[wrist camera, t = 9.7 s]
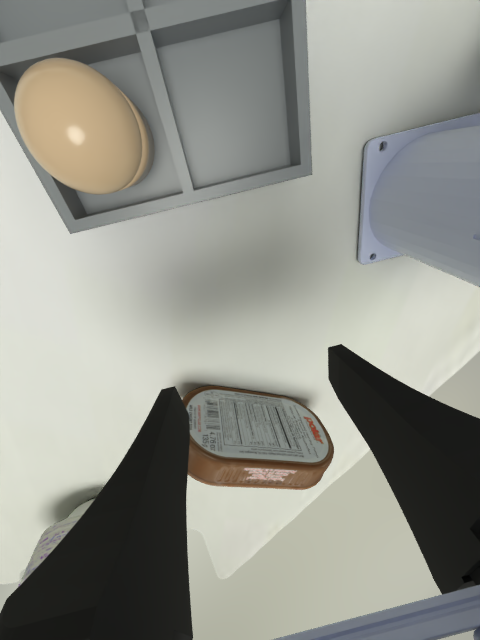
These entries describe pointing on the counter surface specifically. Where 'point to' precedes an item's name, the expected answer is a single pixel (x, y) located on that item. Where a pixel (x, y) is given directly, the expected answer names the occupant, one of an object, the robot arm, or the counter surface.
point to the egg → (82, 127)
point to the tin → (254, 440)
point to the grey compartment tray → (176, 92)
